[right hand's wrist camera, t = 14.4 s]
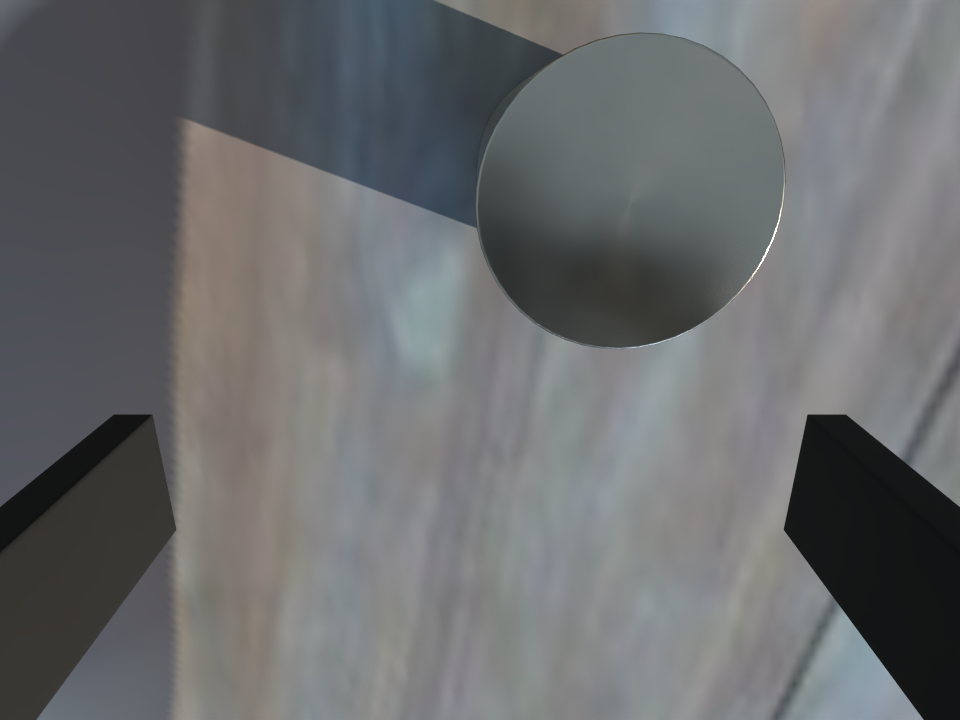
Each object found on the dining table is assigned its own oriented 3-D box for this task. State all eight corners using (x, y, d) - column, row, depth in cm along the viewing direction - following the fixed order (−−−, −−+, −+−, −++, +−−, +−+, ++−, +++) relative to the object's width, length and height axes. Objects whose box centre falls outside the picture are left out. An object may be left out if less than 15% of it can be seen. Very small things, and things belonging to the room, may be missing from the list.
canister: (692, 110, 23) (849, 111, 13) (610, 280, 25) (692, 388, 15) (519, 34, 22) (550, -27, 12) (451, 217, 24) (431, 290, 15)
